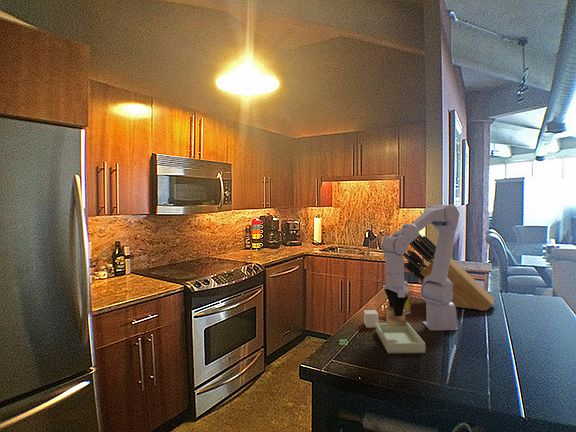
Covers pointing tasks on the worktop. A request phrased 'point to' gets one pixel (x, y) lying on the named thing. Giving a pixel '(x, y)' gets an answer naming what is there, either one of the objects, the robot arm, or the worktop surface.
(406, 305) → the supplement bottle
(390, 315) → the oak block
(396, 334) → the tote tray
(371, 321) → the cream box
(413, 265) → the knife block
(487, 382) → the worktop surface
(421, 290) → the robot arm
